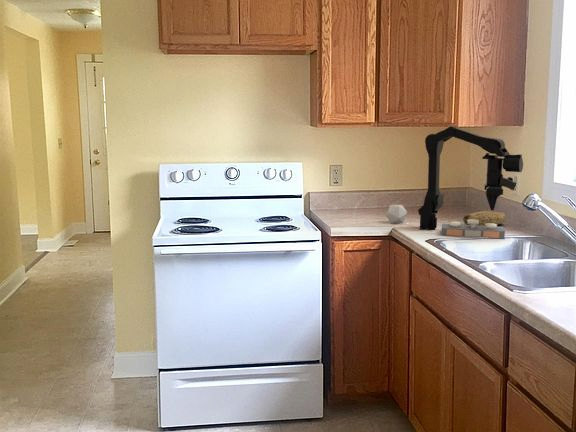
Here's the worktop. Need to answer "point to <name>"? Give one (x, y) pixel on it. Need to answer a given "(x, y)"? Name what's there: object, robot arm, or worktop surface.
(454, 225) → the button left
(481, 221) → the sponge
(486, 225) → the button right
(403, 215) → the die
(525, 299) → the worktop surface
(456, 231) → the board
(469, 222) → the button middle
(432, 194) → the robot arm
